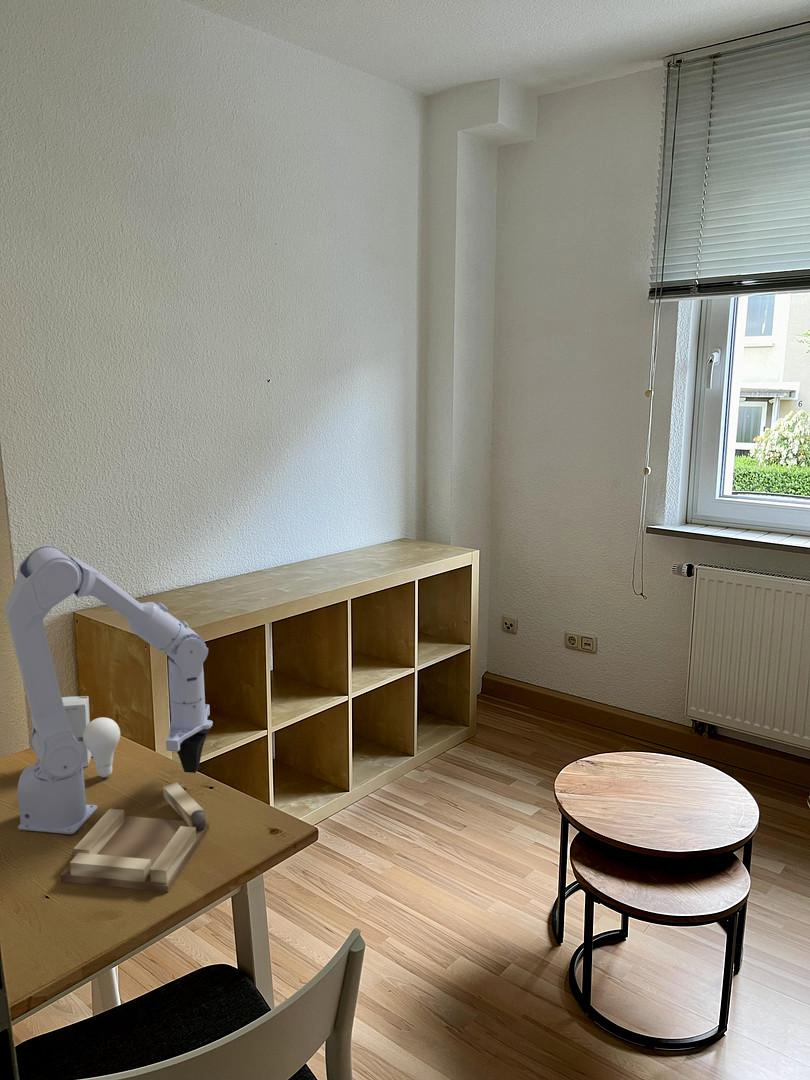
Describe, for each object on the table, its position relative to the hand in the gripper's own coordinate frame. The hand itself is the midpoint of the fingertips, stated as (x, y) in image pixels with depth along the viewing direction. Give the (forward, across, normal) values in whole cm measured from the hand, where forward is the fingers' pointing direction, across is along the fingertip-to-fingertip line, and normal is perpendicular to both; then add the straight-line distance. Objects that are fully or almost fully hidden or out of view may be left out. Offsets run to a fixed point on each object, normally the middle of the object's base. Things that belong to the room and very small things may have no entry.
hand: (191, 770), depth 147 cm
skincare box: (+3, +4, +24) cm, 24 cm away
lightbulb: (+3, 0, +16) cm, 16 cm away
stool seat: (+2, -21, 0) cm, 21 cm away
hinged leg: (+1, -11, -3) cm, 11 cm away
